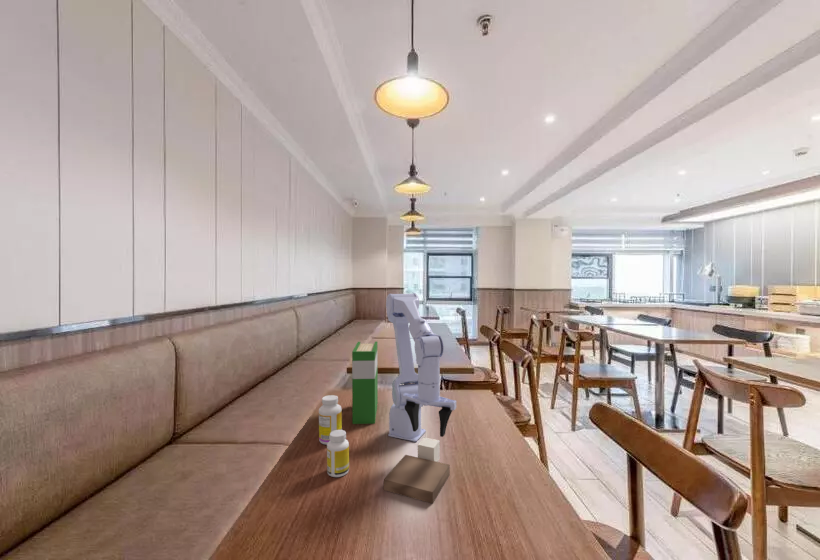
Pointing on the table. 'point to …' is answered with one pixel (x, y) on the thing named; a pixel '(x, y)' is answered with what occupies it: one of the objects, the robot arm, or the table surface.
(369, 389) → the hardback book
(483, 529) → the table surface
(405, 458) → the walnut block
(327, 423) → the supplement bottle
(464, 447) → the table surface
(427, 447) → the cream block
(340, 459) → the supplement bottle
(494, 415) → the table surface
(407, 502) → the table surface
